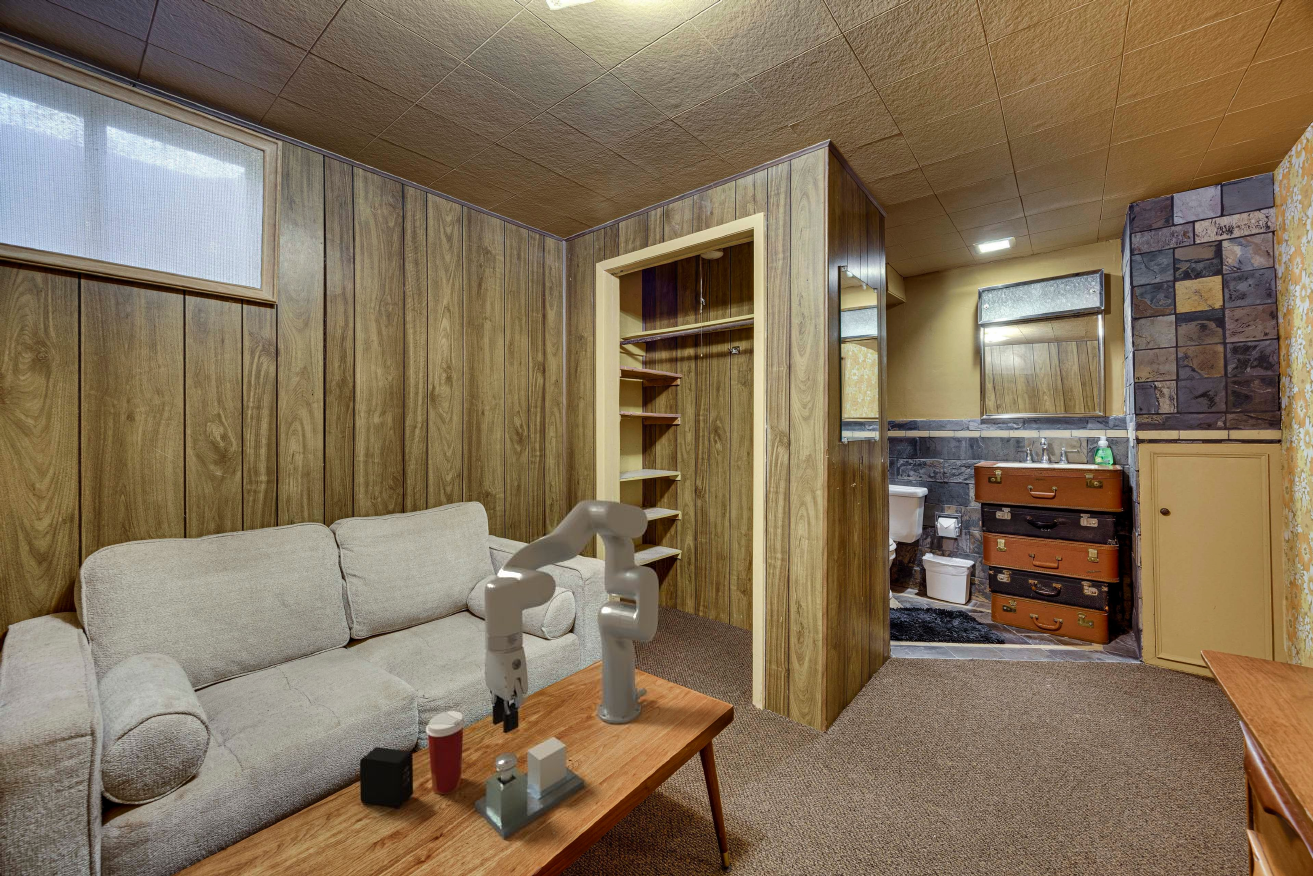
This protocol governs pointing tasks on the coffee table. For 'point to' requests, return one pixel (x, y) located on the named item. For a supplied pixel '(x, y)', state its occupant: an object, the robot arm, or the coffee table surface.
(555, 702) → the coffee table surface
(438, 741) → the coffee cup
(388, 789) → the electronic device
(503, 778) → the pin
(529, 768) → the block
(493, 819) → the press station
